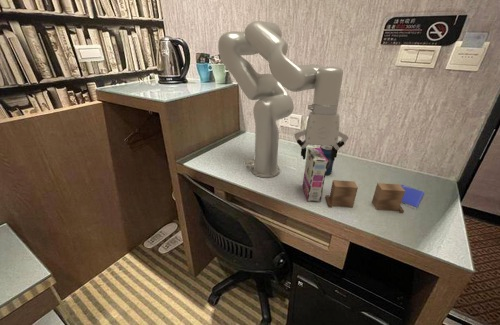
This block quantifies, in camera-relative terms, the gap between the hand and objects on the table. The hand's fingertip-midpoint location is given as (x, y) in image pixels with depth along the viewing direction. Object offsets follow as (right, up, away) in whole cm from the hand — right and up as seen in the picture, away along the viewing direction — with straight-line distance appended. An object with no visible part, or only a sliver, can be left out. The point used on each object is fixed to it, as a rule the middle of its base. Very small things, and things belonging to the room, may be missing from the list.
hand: (317, 158), depth 82 cm
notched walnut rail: (+16, -16, +1) cm, 23 cm away
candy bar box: (-1, -13, +7) cm, 15 cm away
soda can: (+8, -6, +21) cm, 24 cm away
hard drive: (+35, -15, +6) cm, 38 cm away
